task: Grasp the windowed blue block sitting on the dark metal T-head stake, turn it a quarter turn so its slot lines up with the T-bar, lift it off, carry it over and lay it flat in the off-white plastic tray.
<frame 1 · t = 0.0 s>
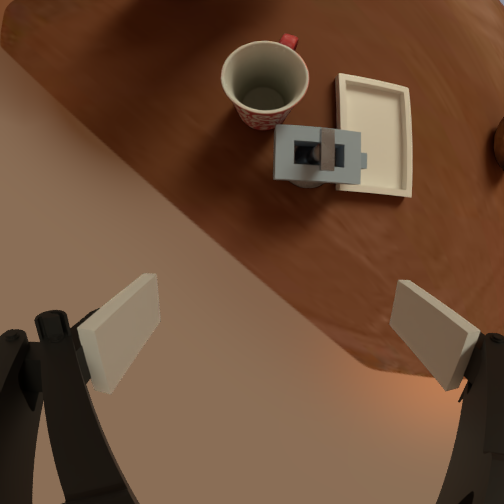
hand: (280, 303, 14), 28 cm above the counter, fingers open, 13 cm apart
mug: (268, 99, 38), on the counter
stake: (306, 161, 40), on the counter
windowed blue block: (313, 157, 35), point 5 cm above the counter, touching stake
potato: (499, 143, 37), on the counter
tray: (373, 136, 38), on the counter
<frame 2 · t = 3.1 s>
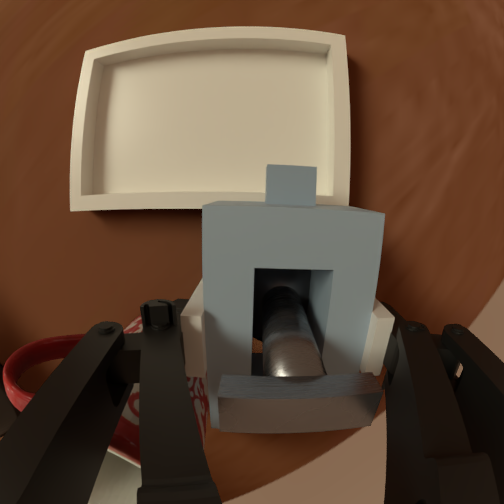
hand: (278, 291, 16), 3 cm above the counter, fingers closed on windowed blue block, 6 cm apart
mug: (151, 338, 21), on the counter
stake: (275, 275, 19), on the counter
windowed blue block: (281, 304, 14), point 5 cm above the counter, touching gripper, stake
tray: (204, 117, 17), on the counter
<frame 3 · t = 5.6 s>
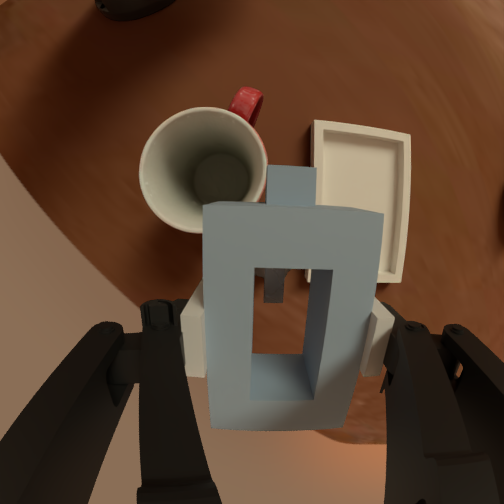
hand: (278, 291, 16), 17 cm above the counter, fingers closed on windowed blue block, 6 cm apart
mug: (229, 169, 32), on the counter
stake: (268, 242, 33), on the counter
windowed blue block: (281, 304, 14), point 19 cm above the counter, touching gripper
tray: (358, 203, 32), on the counter
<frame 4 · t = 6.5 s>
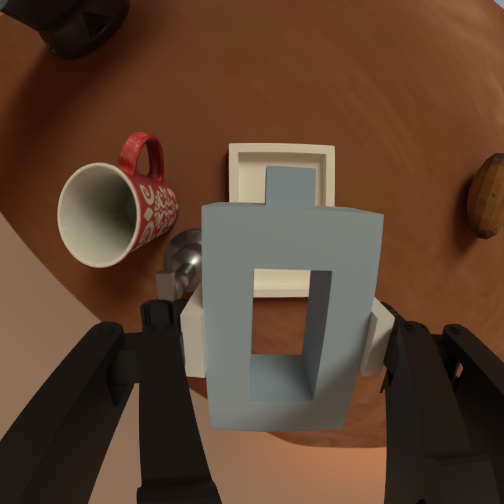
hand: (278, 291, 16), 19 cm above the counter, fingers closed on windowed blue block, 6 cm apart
mug: (158, 195, 34), on the counter
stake: (196, 260, 36), on the counter
windowed blue block: (280, 305, 14), point 21 cm above the counter, touching gripper
potato: (476, 194, 33), on the counter
tray: (281, 220, 34), on the counter
when the fingers open (2 cm above the counter, at t = 9.6 s): windowed blue block drops 4 cm, resting on tray.
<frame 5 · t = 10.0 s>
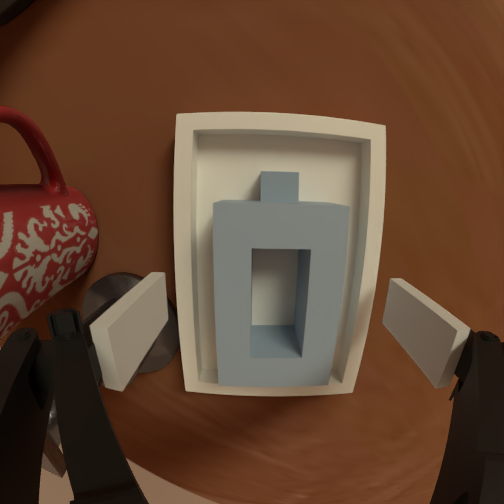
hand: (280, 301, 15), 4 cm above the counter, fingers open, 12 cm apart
mug: (71, 212, 18), on the counter
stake: (130, 323, 19), on the counter
windowed blue block: (274, 282, 18), point 1 cm above the counter, touching tray
tray: (276, 264, 18), on the counter
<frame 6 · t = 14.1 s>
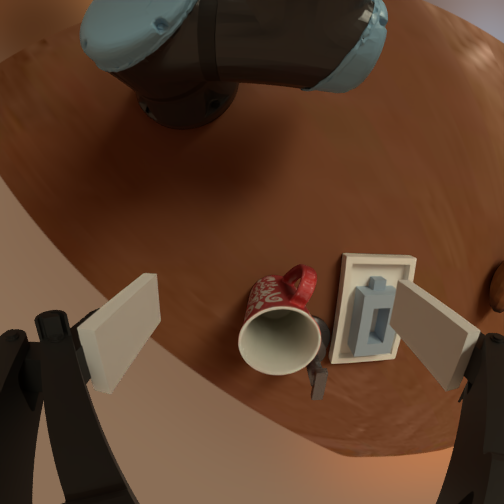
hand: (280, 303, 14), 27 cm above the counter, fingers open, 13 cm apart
mug: (279, 288, 43), on the counter
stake: (305, 337, 44), on the counter
windowed blue block: (369, 315, 43), point 1 cm above the counter, touching tray
potato: (497, 276, 42), on the counter
tray: (370, 308, 43), on the counter
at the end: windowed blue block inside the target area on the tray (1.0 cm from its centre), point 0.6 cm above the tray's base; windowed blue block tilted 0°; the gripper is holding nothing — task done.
